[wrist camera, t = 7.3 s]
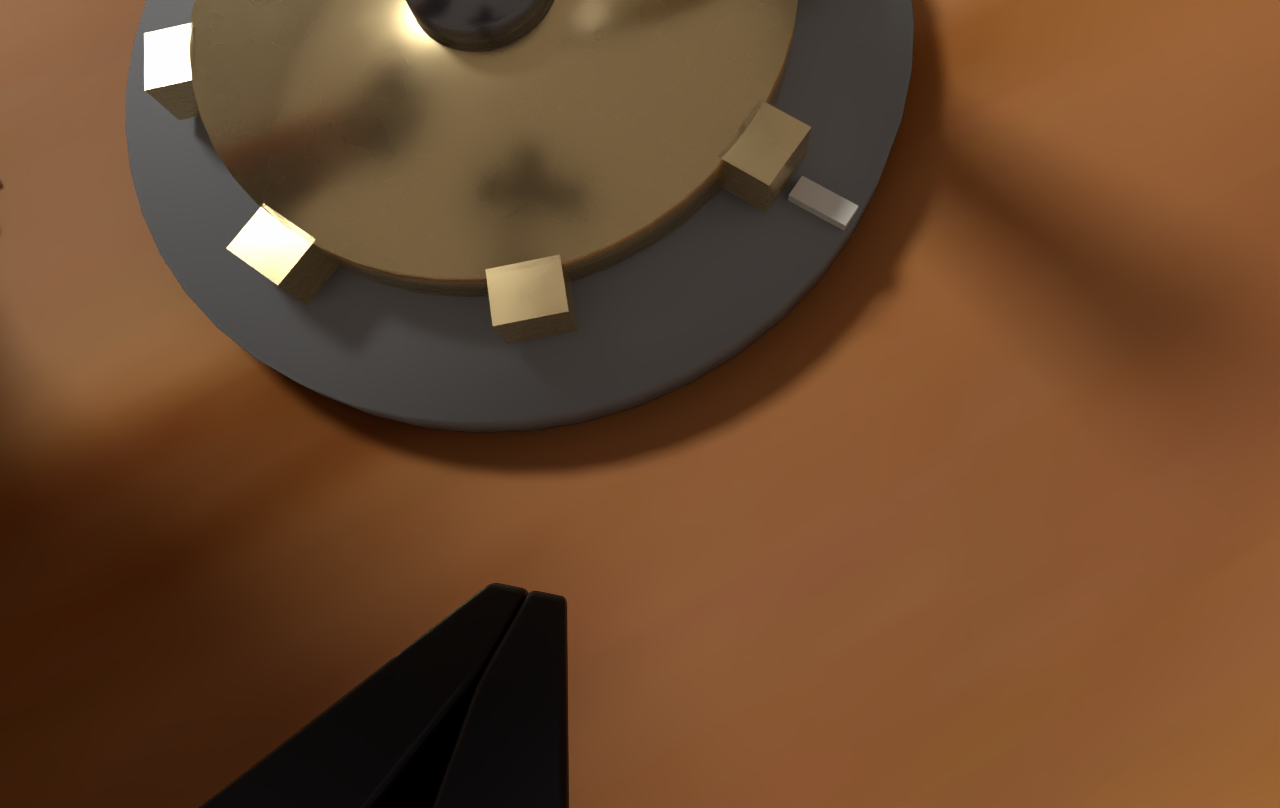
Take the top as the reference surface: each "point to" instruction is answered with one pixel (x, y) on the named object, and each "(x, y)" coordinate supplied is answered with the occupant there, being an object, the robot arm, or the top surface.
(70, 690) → the top surface
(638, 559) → the top surface
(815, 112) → the base plate
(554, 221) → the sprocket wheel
